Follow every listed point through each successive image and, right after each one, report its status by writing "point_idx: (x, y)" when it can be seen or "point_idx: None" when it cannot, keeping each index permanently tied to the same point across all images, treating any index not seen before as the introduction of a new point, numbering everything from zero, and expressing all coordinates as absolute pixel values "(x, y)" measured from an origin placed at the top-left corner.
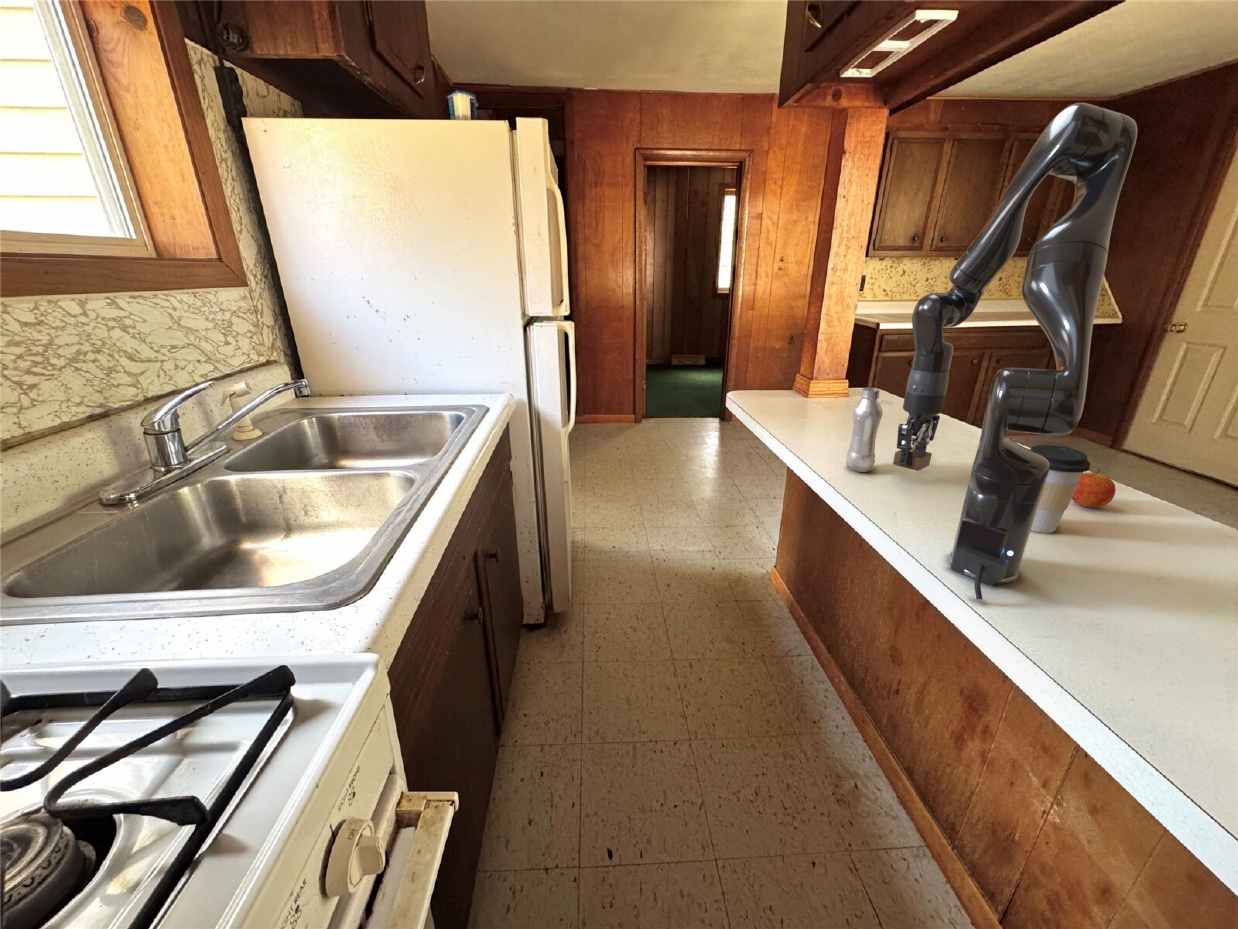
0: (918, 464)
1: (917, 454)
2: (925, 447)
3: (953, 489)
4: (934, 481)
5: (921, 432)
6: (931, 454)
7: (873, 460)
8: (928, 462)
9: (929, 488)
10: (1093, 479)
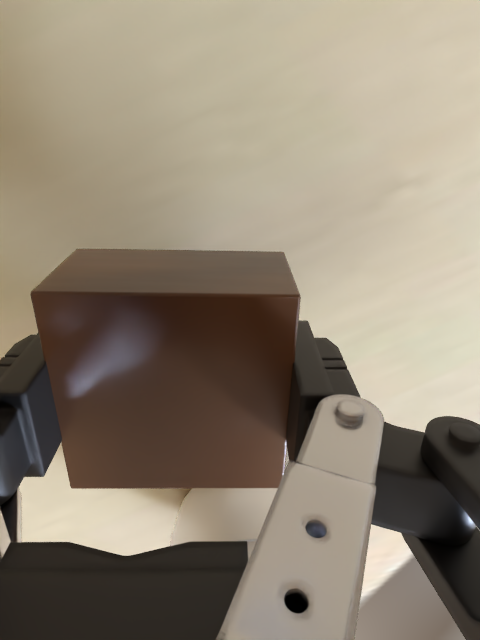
0: (292, 276)
1: (192, 362)
2: (23, 384)
3: (84, 14)
4: (62, 179)
5: (324, 621)
6: (42, 287)
7: (248, 505)
8: (102, 259)
9: (202, 148)
10: None
